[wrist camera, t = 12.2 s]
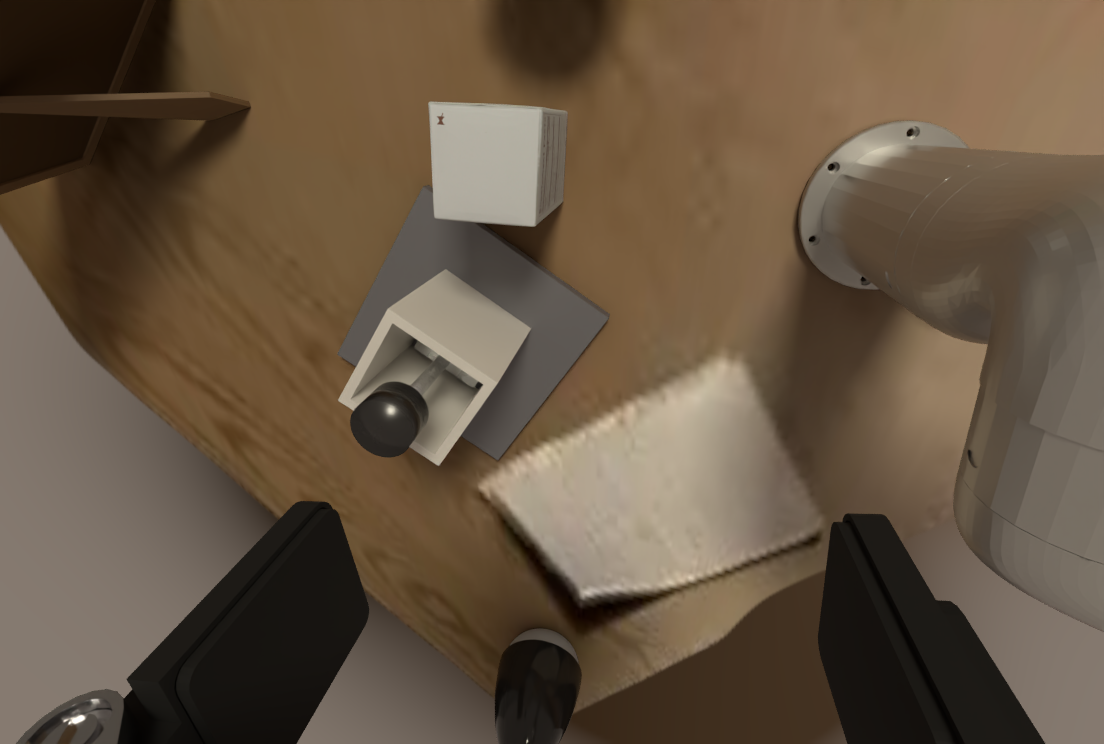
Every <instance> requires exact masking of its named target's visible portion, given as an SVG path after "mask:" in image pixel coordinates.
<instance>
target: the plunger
mask: <svg viewBox="0 0 1104 744" xmlns="http://www.w3.org/2000/svg"><path fill="white" fill-rule="evenodd" d="M414 348H415V349H416V350H418V351H419V352H421V353H422V354H423V355H425V356H426V357H428V358H429V359H431V360H432V361H433V362H432V363H431V364H430V365H429V366H428V367H427V368H426V369H425V370H424V372H423V373H422V374H421V375H420V376H419V377H418V378H417V379H416V380H415V381H414V382H413V383H412V384H411V385H408V384H405V383H402V382H396V381H392V382H386V383H383V384H381V385H380V386H379V387H377V388H376V389H375V390H374V391H373V392H372V393H371V394H370V395H369V396H368V397H367V398H366V399H365V400H364V401H362V402H361V403H360V404H359V405H358V406H357V407H356V408H355V409H354V411H353V413H352V415H351V420H350V425H351V430H352V433H353V435H354V437H355V439H356V440H357V441H358V443H359V444H360V445H361V446H362V447H363V448H364V449H366V450H367V451H369V452H371V453H372V454H375V455H377V456H381V457H395V456H399V455H401V454H402V453H404V452H405V451H406V450H407V449H408V448H409V446H410V445H411V444H412V442H413V441H414V440H415V438H416V437H417V436H418V435H419V433H420V432H421V431H422V429H423V428H424V427H425V425H426V424H427V421H428V417H429V411H428V406H427V404H426V401H425V400H424V398H423V397H422V395H423V394H424V393H425V392H426V391H427V390H428V388H429V387H430V386H431V385H432V384H433V383H434V381H435V380H436V379H437V378H438V377H439V376H440V375H441V373H442V372H443V371H444V370H445V369H446V370H447V371H449V372H450V373H452V374H453V375H455V376H456V377H458V378H459V379H461V380H462V381H464V382H465V383H467V384H468V385H469V386H471V387H472V388H474V387H475V385H476V384H477V382H478V381H477V380H476V379H474V378H473V377H472V376H470V375H469V374H467V373H466V372H464V371H463V370H461V369H460V368H458V367H457V366H455V365H454V364H452V363H451V362H449V361H448V360H446V359H445V358H443V357H442V356H440V355H439V354H437V353H436V352H435V351H433V350H432V349H430V348H429V347H427V346H426V345H424V344H423V343H421V342H420V341H417V343H416V344H415V346H414Z"/></svg>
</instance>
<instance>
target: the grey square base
mask: <svg viewBox="0 0 1104 744" xmlns="http://www.w3.org/2000/svg"><path fill="white" fill-rule="evenodd" d="M609 315H610V314H609V313H607V312H606V311H605V310H603V309H602V308H600V307H599V306H597V305H596V304H595V303H593V302H592V301H590V300H589V299H588V298H586V297H585V296H583V295H582V294H581V293H579V292H578V291H576V290H575V289H574V288H572V287H571V286H569V285H568V284H567V283H565V282H564V281H562V280H561V279H560V278H558V277H557V276H555V275H554V274H553V273H551V272H550V271H548V270H547V269H546V268H544V267H543V266H541V265H540V264H538V263H537V262H536V261H534V260H533V259H531V258H530V257H529V256H527V255H526V254H524V253H523V252H522V251H520V250H519V249H517V248H516V247H515V246H513V245H512V244H510V243H509V242H508V241H506V240H505V239H503V238H502V237H501V236H499V235H498V234H496V233H495V232H494V231H492V230H491V229H489V228H488V227H487V226H485V225H484V224H482V223H475V222H463V221H452V220H442V219H436V218H435V217H434V205H433V188H432V187H430V186H429V185H427V186H423V188H422V190H421V192H420V194H419V196H418V198H417V200H416V202H415V203H414V205H413V207H412V209H411V211H410V213H409V215H408V217H407V219H406V221H405V223H404V225H403V227H402V229H401V231H400V233H399V235H398V237H397V239H396V241H395V242H394V244H393V246H392V248H391V250H390V252H389V254H388V256H387V258H386V260H385V262H384V264H383V266H382V268H381V270H380V272H379V274H378V276H377V278H376V280H375V281H374V283H373V285H372V287H371V289H370V291H369V293H368V295H367V297H366V299H365V301H364V303H363V305H362V307H361V309H360V311H359V313H358V315H357V317H356V319H355V320H354V322H353V324H352V326H351V328H350V330H349V332H348V334H347V336H346V338H345V340H344V342H343V344H342V346H341V348H340V350H339V352H338V355H339V356H341V357H342V358H344V359H345V360H347V361H348V362H350V363H351V364H353V365H354V366H356V368H355V370H354V372H353V374H352V376H351V377H350V379H349V381H348V383H347V385H346V387H345V389H344V390H343V392H342V394H341V396H340V398H339V400H338V401H340V402H341V403H343V404H344V405H346V406H347V407H349V408H350V409H352V410H353V411H354V409H355V408H356V407H357V406H358V405H359V404H360V403H361V402H362V401H364V400H365V399H366V398H367V397H368V396H369V395H370V394H371V393H372V392H373V391H374V390H375V389H376V388H377V387H379V386H380V385H381V384H383V383H386V382H392V381H396V382H402V383H405V384H408V385H411V384H412V383H413V382H414V381H415V380H416V379H417V378H418V377H419V376H420V375H421V374H422V373H423V372H424V370H425V369H426V368H427V367H428V366H429V365H430V364H431V363H432V362H433V361H432V360H431V359H429V358H428V357H426V356H425V355H423V354H422V353H421V352H419V351H418V350H416V349H415V348H414V346H415V344H416V343H417V341H420V342H421V343H423V344H424V345H426V346H427V347H429V348H430V349H432V350H433V351H435V352H436V353H437V354H439V355H440V356H442V357H443V358H445V359H446V360H448V361H449V362H451V363H452V364H454V365H455V366H457V367H458V368H460V369H461V370H463V371H464V372H466V373H467V374H469V375H470V376H472V377H473V378H474V379H476V380H477V381H478V382H477V384H476V385H475V387H474V388H472V387H471V386H469V385H468V384H467V383H465V382H464V381H462V380H461V379H459V378H458V377H456V376H455V375H453V374H452V373H450V372H449V371H447V370H446V369H445V370H444V371H443V372H442V373H441V375H440V376H439V377H438V378H437V379H436V380H435V381H434V383H433V384H432V385H431V386H430V387H429V388H428V390H427V391H426V392H425V393H424V394H423V395H422V397H423V398H424V400H425V401H426V404H427V406H428V411H429V417H428V421H427V424H426V425H425V427H424V428H423V429H422V431H421V432H420V433H419V435H418V436H417V437H416V438H415V440H414V441H413V442H412V444H411V445H410V446H409V447H410V448H412V449H413V450H415V451H416V452H418V453H419V454H421V455H422V456H424V457H426V458H427V459H429V460H430V461H432V462H433V463H435V464H436V465H438V466H439V465H440V464H441V462H442V461H443V459H444V458H445V457H446V455H447V454H448V452H449V451H450V450H451V448H452V447H453V445H454V444H455V443H456V441H457V440H458V438H459V437H460V436H462V437H463V438H465V439H466V440H468V441H469V442H471V443H472V444H474V445H475V446H477V447H478V448H480V449H481V450H483V451H484V452H486V453H487V454H489V455H490V456H492V457H493V458H495V459H496V460H499V458H500V457H501V456H502V455H503V453H504V452H505V451H506V449H507V448H508V447H509V446H510V444H511V443H512V442H513V440H514V439H515V438H516V437H517V435H518V434H519V433H520V431H521V430H522V429H523V428H524V426H525V425H526V424H527V422H528V421H529V420H530V419H531V417H532V416H533V415H534V413H535V412H536V411H537V410H538V408H539V407H540V406H541V405H542V403H543V402H544V401H545V399H546V398H547V397H548V396H549V394H550V393H551V392H552V390H553V389H554V388H555V387H556V385H557V384H558V383H559V381H560V380H561V379H562V378H563V376H564V375H565V374H566V372H567V371H568V370H569V369H570V367H571V366H572V365H573V363H574V362H575V361H576V360H577V358H578V357H579V356H580V355H581V353H582V352H583V351H584V349H585V348H586V347H587V346H588V344H589V343H590V342H591V340H592V339H593V338H594V337H595V335H596V334H597V333H598V331H599V330H600V329H601V328H602V326H603V325H604V324H605V322H606V321H607V320H608V319H609Z"/></svg>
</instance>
